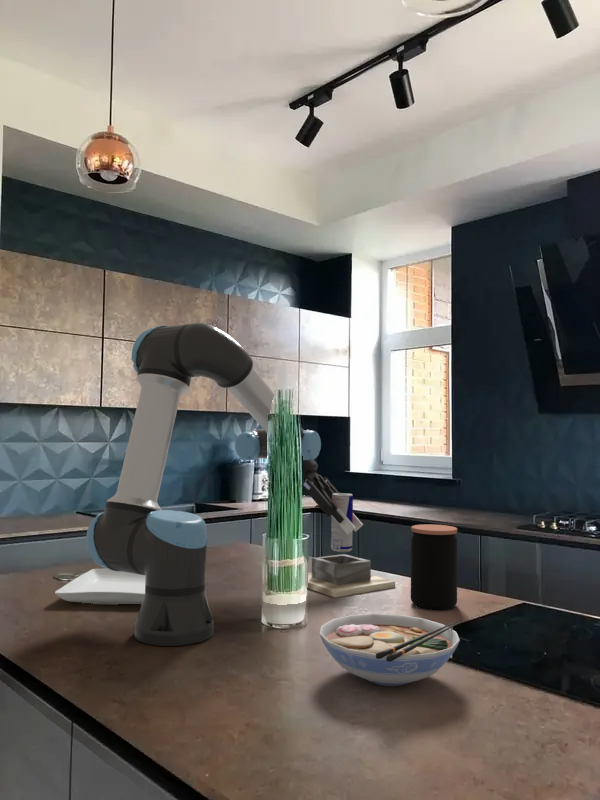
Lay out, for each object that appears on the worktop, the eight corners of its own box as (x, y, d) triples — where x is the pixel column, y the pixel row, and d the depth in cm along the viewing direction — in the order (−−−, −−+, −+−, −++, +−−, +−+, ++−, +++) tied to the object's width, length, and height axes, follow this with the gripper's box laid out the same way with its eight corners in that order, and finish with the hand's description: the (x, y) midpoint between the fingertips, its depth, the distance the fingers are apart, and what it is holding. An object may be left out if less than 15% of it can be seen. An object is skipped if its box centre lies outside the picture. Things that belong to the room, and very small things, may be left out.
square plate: (173, 611, 148) (174, 593, 148) (51, 608, 149) (52, 591, 149) (195, 583, 175) (195, 568, 175) (91, 581, 176) (92, 566, 176)
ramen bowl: (371, 645, 125) (371, 600, 126) (486, 674, 111) (486, 624, 111) (284, 682, 106) (285, 629, 107) (410, 723, 92) (411, 663, 92)
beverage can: (350, 553, 172) (351, 495, 173) (329, 552, 174) (330, 494, 174) (353, 549, 178) (354, 493, 178) (332, 548, 179) (333, 492, 180)
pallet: (395, 587, 173) (395, 561, 173) (335, 597, 161) (335, 570, 161) (345, 573, 189) (346, 550, 189) (287, 581, 177) (288, 556, 178)
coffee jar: (454, 600, 160) (454, 525, 161) (460, 612, 149) (460, 531, 150) (409, 598, 161) (409, 523, 162) (412, 610, 150) (412, 530, 151)
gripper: (303, 471, 191) (357, 534, 184) (275, 475, 175) (333, 544, 167) (321, 453, 189) (375, 516, 182) (294, 455, 173) (353, 524, 165)
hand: (355, 529), depth 175 cm, fingers closed on beverage can, 5 cm apart
